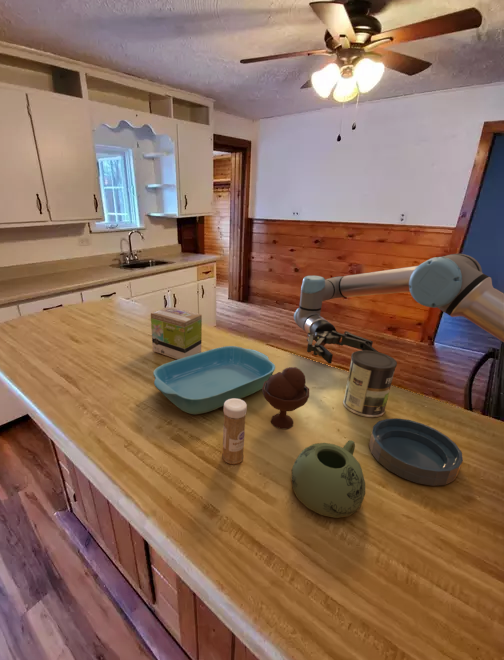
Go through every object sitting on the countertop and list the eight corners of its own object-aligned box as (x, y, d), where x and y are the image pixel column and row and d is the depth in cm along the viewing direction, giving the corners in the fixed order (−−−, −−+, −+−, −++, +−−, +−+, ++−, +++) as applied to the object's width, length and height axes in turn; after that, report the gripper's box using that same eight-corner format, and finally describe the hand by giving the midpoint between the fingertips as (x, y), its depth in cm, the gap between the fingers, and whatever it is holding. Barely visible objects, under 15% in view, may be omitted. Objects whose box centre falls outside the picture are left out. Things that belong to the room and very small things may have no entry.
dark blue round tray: (437, 438, 77) (442, 424, 76) (472, 494, 63) (479, 477, 61) (362, 427, 81) (365, 414, 79) (378, 478, 66) (383, 462, 65)
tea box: (151, 352, 119) (149, 312, 114) (169, 342, 127) (168, 305, 121) (185, 363, 111) (184, 321, 106) (202, 352, 119) (202, 313, 113)
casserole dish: (236, 358, 115) (237, 339, 112) (287, 385, 99) (290, 363, 96) (139, 392, 94) (137, 370, 92) (183, 434, 78) (183, 408, 75)
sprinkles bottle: (238, 468, 68) (241, 413, 63) (218, 460, 70) (219, 406, 65) (246, 454, 72) (250, 401, 67) (227, 447, 74) (229, 395, 69)
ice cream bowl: (288, 405, 89) (294, 354, 83) (314, 431, 79) (322, 375, 74) (252, 412, 86) (256, 360, 80) (274, 440, 76) (280, 383, 71)
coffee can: (387, 403, 91) (399, 356, 85) (381, 422, 83) (394, 372, 77) (347, 391, 96) (355, 346, 90) (338, 409, 88) (347, 360, 82)
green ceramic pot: (341, 539, 54) (350, 499, 51) (275, 491, 63) (279, 454, 60) (380, 486, 64) (390, 450, 61) (319, 451, 73) (325, 418, 70)
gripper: (353, 338, 115) (392, 367, 95) (283, 341, 112) (309, 372, 93) (357, 318, 112) (398, 343, 93) (285, 320, 109) (312, 347, 90)
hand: (354, 358), depth 93 cm, fingers open, 13 cm apart
